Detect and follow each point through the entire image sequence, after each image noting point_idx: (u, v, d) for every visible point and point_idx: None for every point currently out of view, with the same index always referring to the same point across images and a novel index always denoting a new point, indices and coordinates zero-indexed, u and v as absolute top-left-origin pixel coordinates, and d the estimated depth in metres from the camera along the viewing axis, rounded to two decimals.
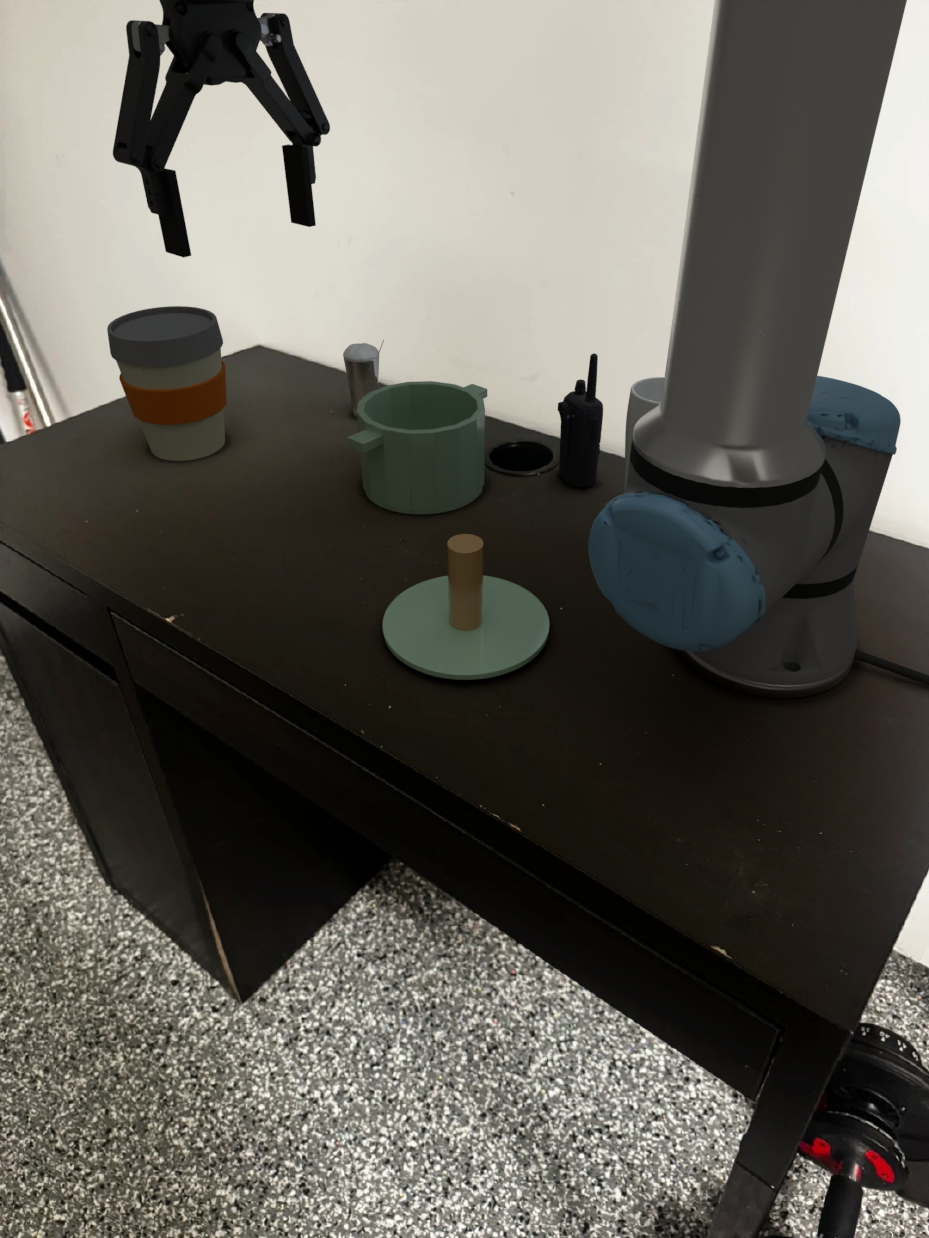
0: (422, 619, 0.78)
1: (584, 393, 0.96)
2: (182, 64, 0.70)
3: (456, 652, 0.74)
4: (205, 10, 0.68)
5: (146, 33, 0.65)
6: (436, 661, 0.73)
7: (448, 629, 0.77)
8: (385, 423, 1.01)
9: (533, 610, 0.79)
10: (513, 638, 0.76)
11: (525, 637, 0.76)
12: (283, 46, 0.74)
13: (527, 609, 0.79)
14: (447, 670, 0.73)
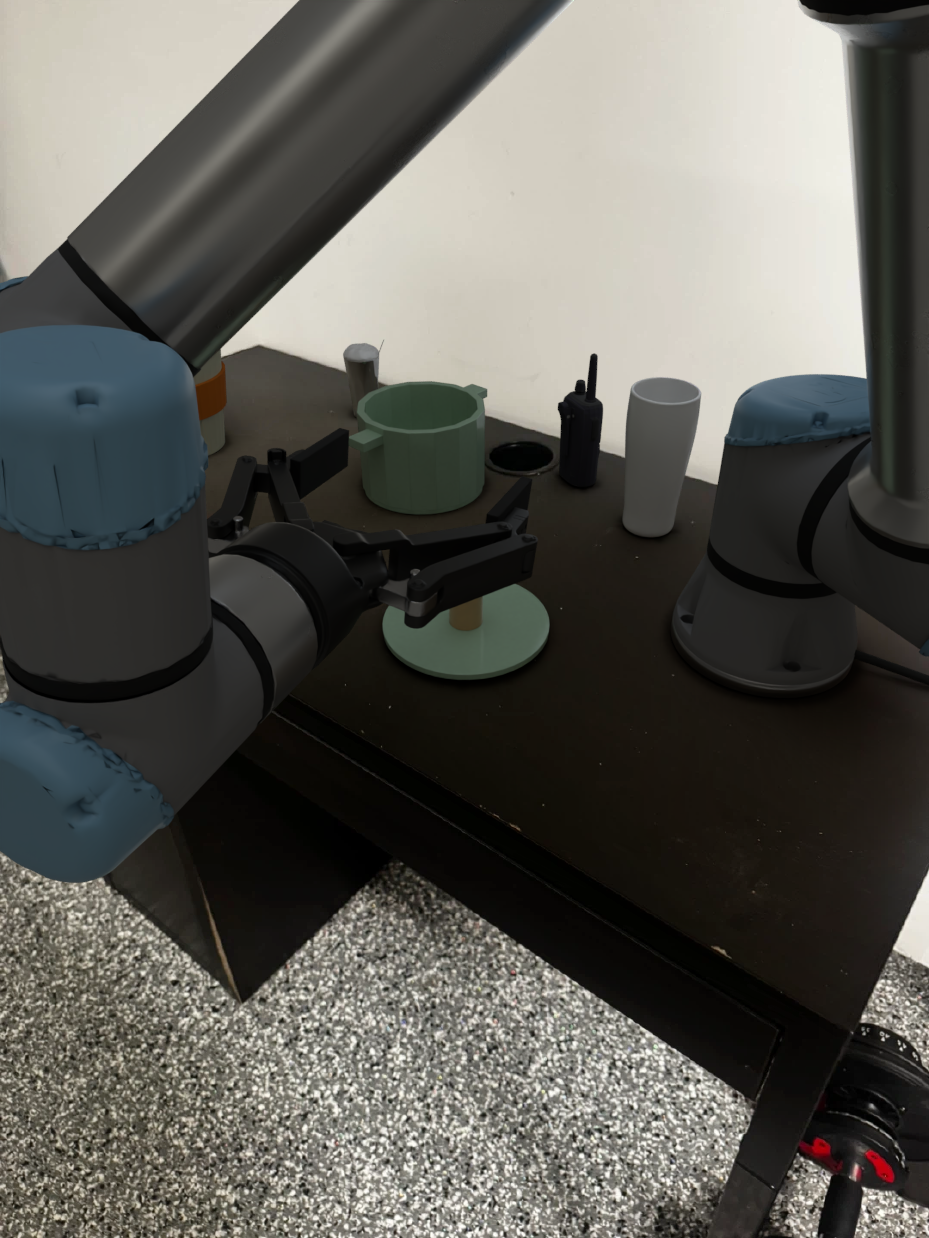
0: None
1: (584, 393, 0.96)
2: None
3: (456, 652, 0.74)
4: None
5: (426, 585, 0.46)
6: (436, 661, 0.73)
7: (448, 629, 0.77)
8: (385, 423, 1.01)
9: (533, 610, 0.79)
10: (513, 638, 0.76)
11: (525, 637, 0.76)
12: (237, 513, 0.51)
13: (527, 609, 0.79)
14: (447, 670, 0.73)
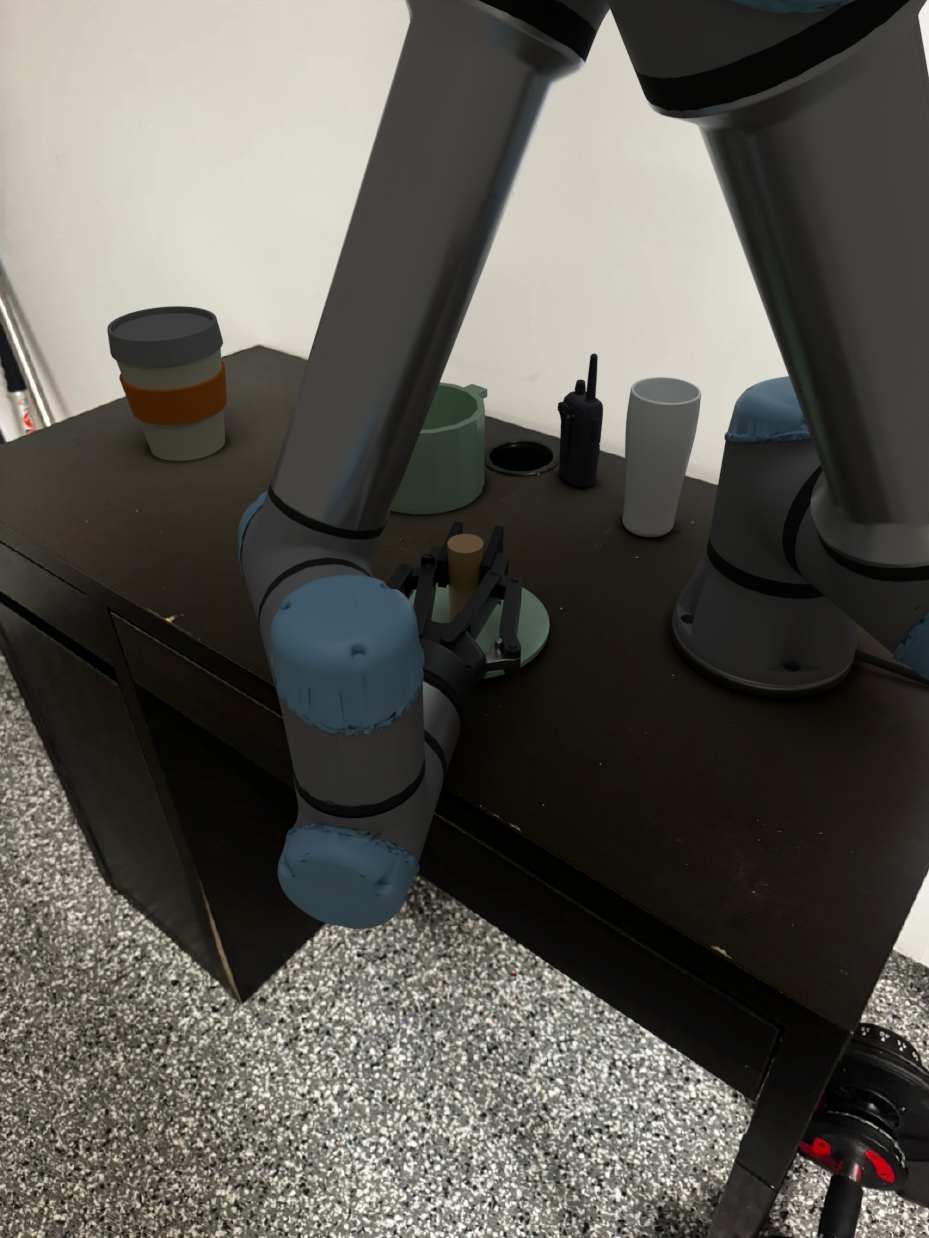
0: None
1: (584, 393, 0.96)
2: None
3: None
4: None
5: (517, 644, 0.65)
6: None
7: None
8: None
9: (533, 610, 0.79)
10: None
11: (525, 637, 0.76)
12: None
13: (527, 609, 0.79)
14: None
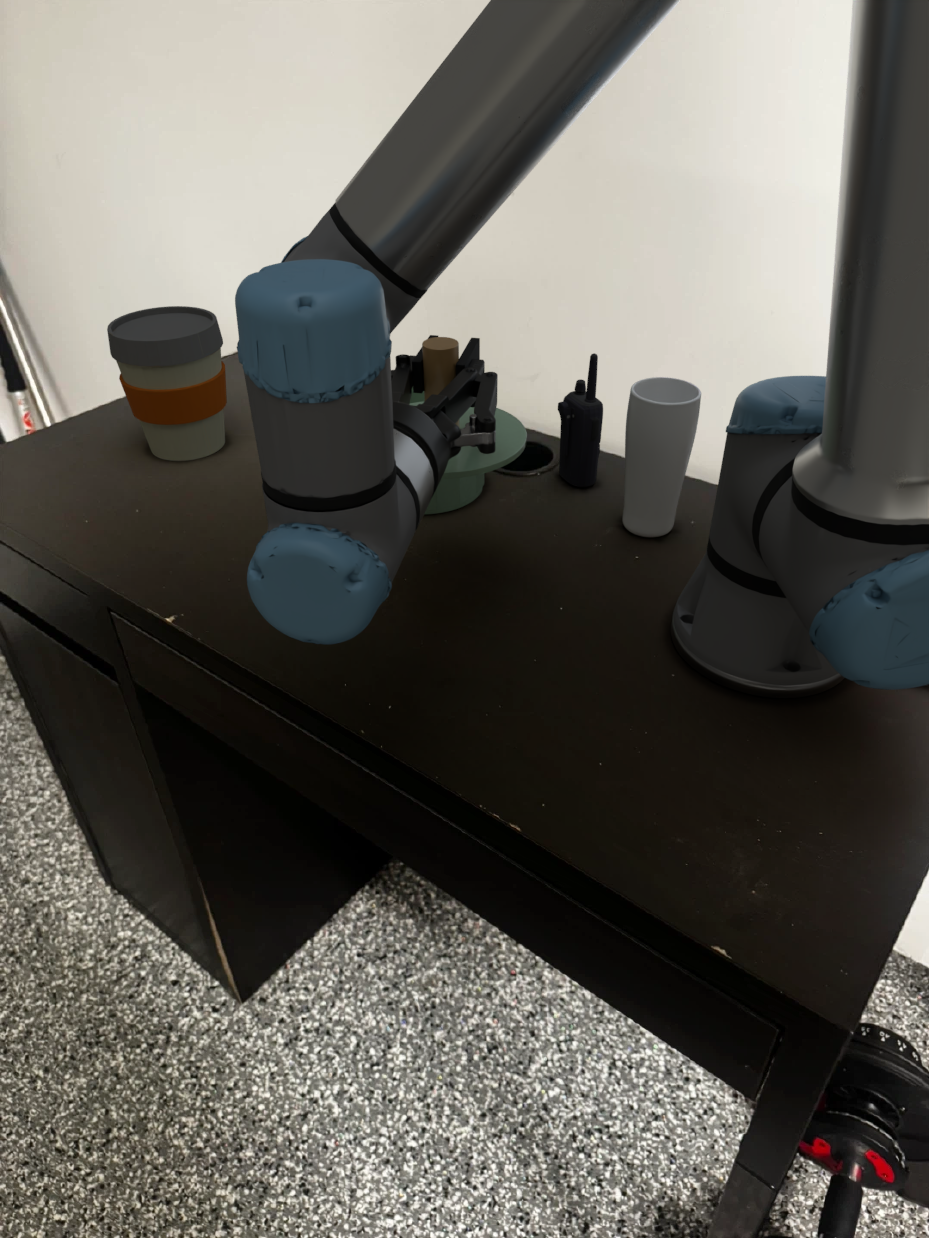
0: None
1: (584, 393, 0.96)
2: None
3: None
4: None
5: (492, 418, 0.64)
6: None
7: None
8: None
9: (510, 425, 0.79)
10: None
11: (502, 445, 0.75)
12: None
13: (505, 425, 0.79)
14: None
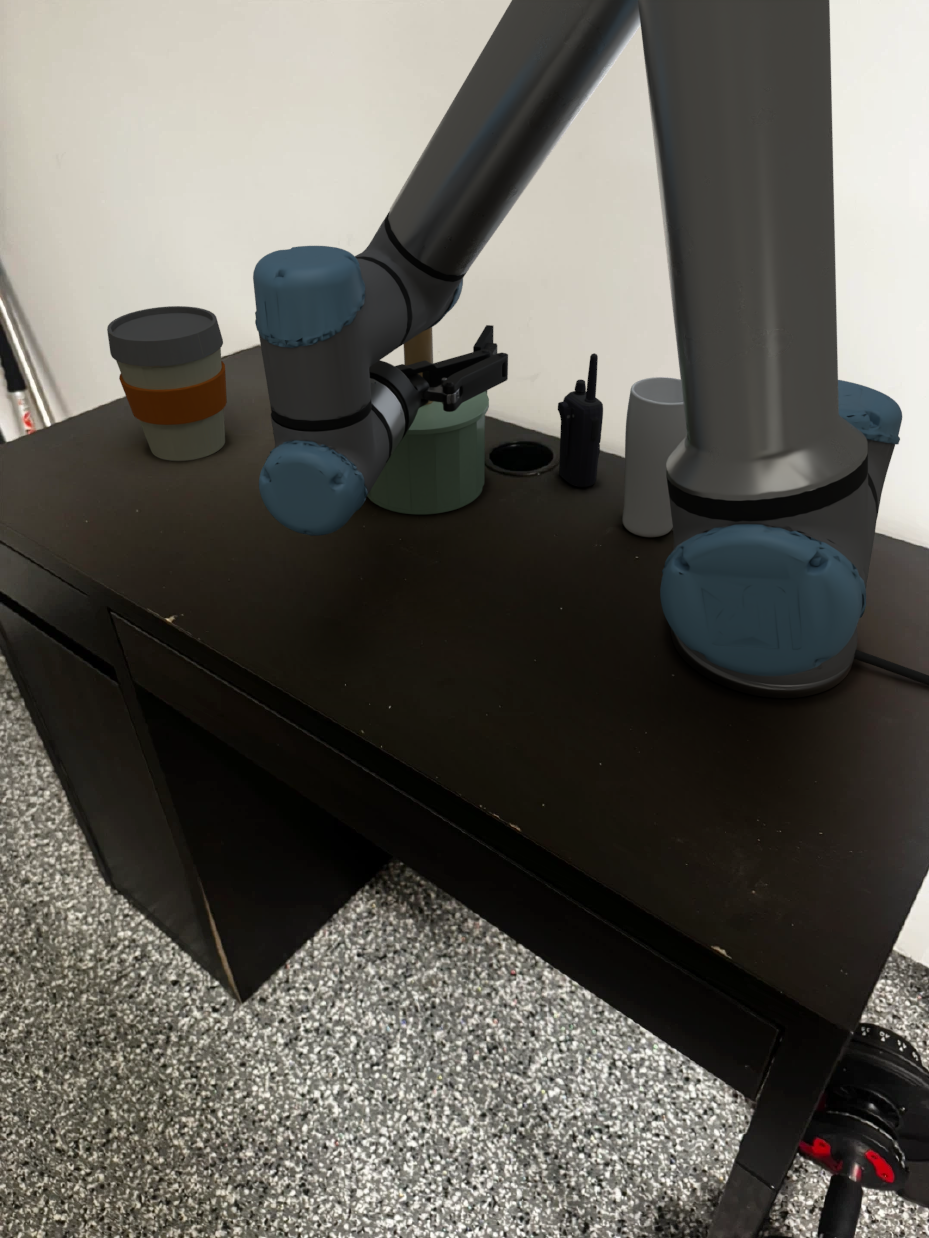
0: None
1: (584, 393, 0.96)
2: None
3: None
4: None
5: (453, 383, 0.79)
6: None
7: None
8: None
9: None
10: (458, 410, 0.92)
11: (467, 409, 0.93)
12: None
13: None
14: None
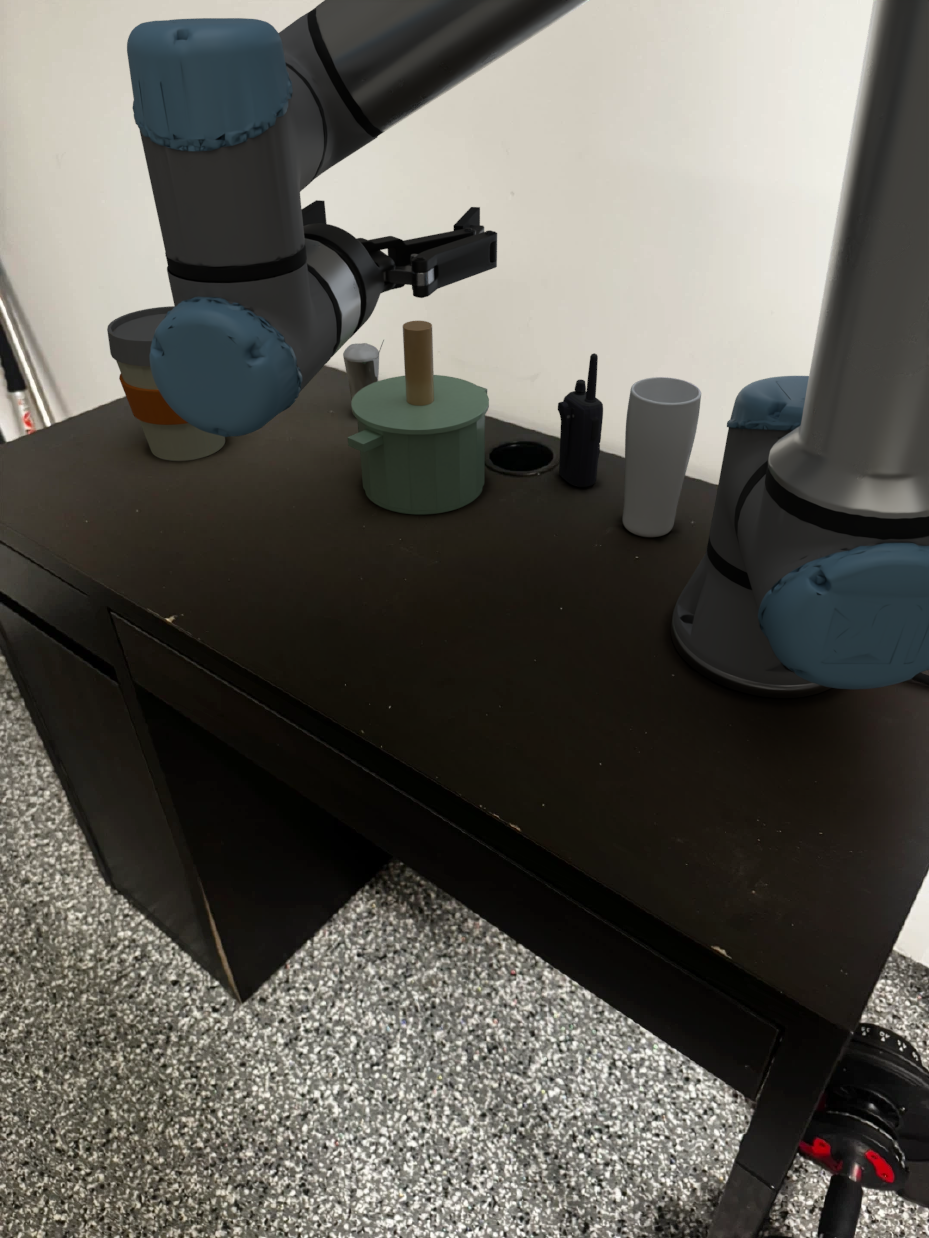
0: (384, 399, 0.95)
1: (584, 393, 0.96)
2: None
3: (411, 417, 0.91)
4: None
5: (426, 259, 0.61)
6: (394, 422, 0.90)
7: (405, 405, 0.94)
8: None
9: (476, 394, 0.96)
10: (458, 410, 0.92)
11: (467, 409, 0.93)
12: None
13: (471, 394, 0.96)
14: (402, 427, 0.89)
